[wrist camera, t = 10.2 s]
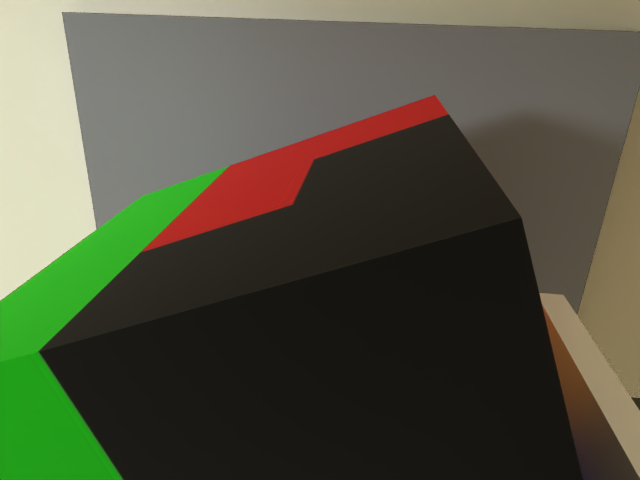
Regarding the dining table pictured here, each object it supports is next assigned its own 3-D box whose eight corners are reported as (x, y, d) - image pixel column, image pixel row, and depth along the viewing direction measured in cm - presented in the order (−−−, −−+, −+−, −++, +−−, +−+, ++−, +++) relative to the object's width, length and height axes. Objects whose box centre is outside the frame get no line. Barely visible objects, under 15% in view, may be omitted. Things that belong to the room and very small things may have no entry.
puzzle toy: (509, 367, 18) (638, 717, 9) (256, 421, 20) (156, 743, 11) (435, 94, 15) (521, 217, 6) (141, 196, 17) (-133, 399, 8)
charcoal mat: (127, 365, 25) (120, 375, 25) (74, 12, 19) (62, 12, 18) (543, 405, 24) (548, 417, 23) (642, 31, 17) (654, 32, 16)
